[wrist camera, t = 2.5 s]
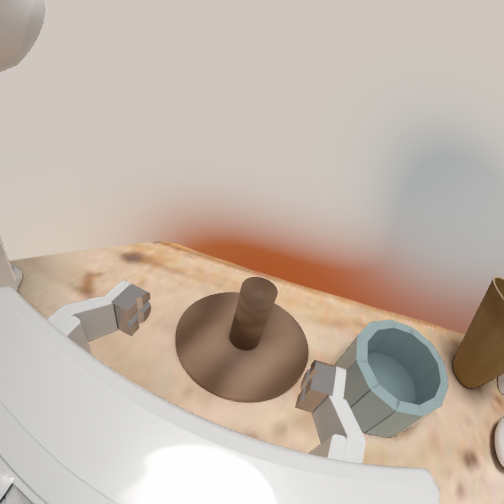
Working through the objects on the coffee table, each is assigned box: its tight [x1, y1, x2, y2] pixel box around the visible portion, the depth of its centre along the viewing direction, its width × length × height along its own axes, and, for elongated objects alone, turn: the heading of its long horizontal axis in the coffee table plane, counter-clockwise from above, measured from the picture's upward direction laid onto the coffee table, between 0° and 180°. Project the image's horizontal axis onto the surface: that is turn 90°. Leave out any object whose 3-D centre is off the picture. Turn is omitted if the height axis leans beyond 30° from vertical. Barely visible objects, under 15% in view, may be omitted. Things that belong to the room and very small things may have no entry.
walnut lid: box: [176, 277, 308, 402], centre depth 29 cm, size 16×16×9 cm
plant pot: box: [453, 276, 504, 389], centre depth 29 cm, size 15×15×16 cm
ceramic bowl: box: [335, 320, 449, 438], centre depth 27 cm, size 14×14×6 cm
